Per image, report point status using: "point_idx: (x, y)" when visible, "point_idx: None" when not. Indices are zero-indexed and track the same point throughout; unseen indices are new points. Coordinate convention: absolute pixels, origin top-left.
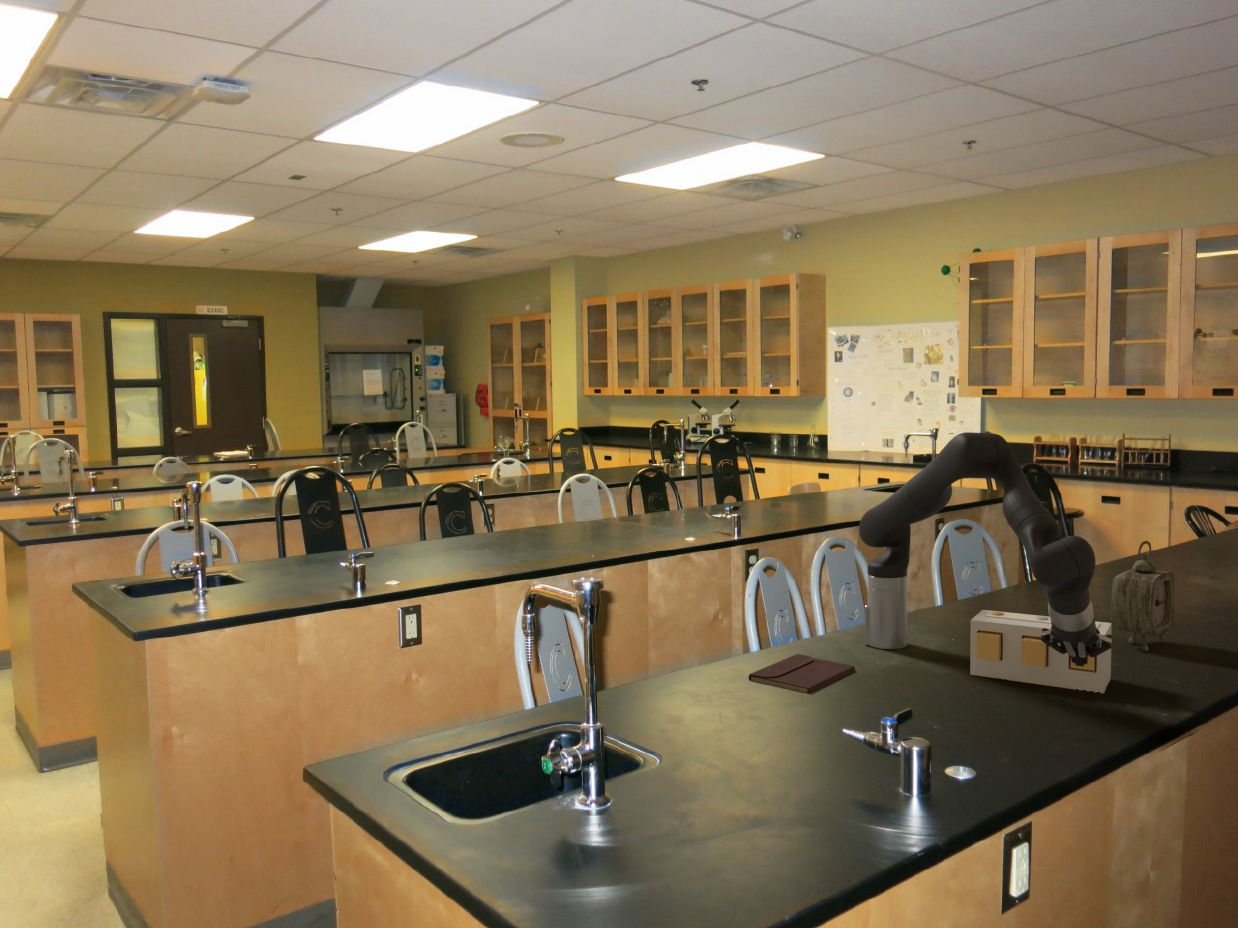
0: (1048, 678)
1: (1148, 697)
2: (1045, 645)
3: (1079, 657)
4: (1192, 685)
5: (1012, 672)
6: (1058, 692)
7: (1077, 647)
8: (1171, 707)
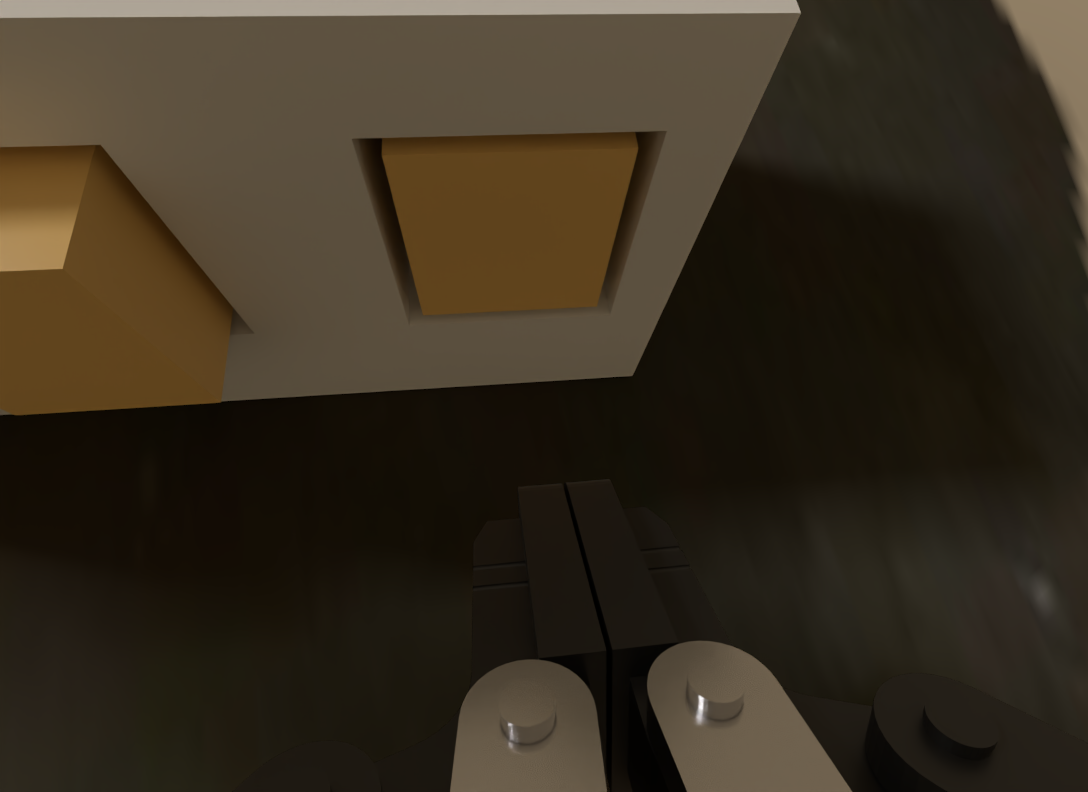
0: (291, 376)
1: (843, 323)
2: (110, 261)
3: (628, 785)
4: (908, 65)
5: None
6: (387, 506)
7: (599, 732)
8: (1005, 434)
